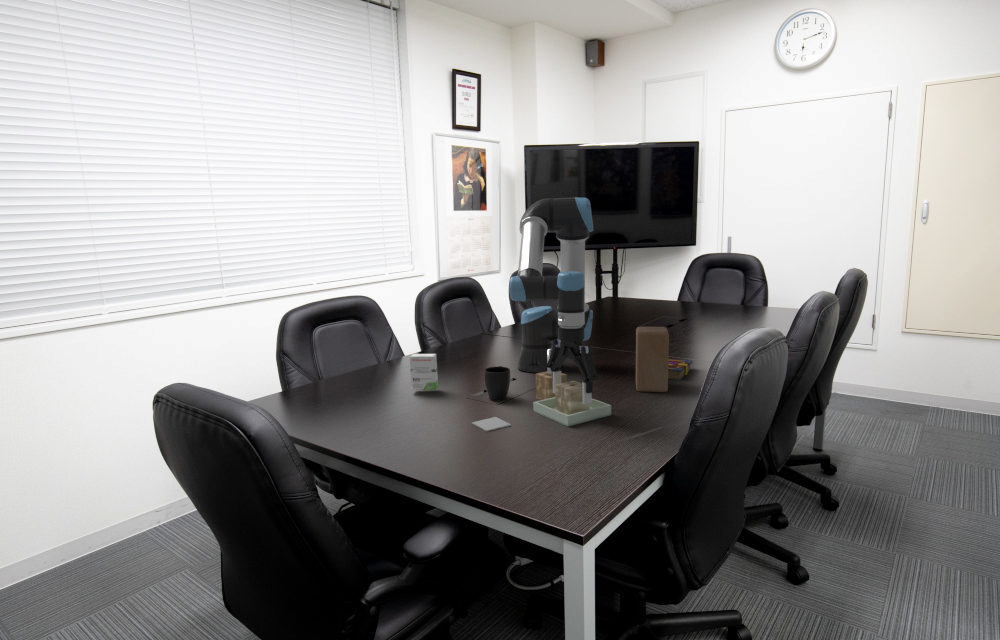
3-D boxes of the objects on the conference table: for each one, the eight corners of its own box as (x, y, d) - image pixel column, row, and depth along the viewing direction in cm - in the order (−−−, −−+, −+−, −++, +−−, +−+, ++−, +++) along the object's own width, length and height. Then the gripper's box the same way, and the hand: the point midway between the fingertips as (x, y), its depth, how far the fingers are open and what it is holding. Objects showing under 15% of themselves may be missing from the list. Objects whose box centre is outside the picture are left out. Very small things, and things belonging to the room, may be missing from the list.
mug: (514, 391, 198) (514, 363, 196) (508, 402, 186) (507, 373, 184) (490, 390, 199) (489, 363, 198) (482, 401, 188) (481, 372, 186)
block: (668, 393, 191) (669, 332, 188) (636, 392, 193) (636, 331, 190) (665, 384, 201) (667, 326, 197) (635, 383, 203) (636, 326, 199)
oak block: (536, 398, 190) (535, 373, 188) (553, 394, 193) (553, 370, 192) (549, 403, 184) (548, 378, 183) (567, 399, 188) (566, 374, 186)
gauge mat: (471, 423, 168) (471, 422, 168) (495, 418, 172) (495, 416, 172) (486, 431, 161) (486, 430, 161) (511, 425, 165) (510, 424, 165)
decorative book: (648, 378, 209) (648, 365, 208) (662, 368, 223) (662, 355, 222) (680, 382, 203) (681, 368, 203) (692, 371, 217) (693, 358, 216)
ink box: (438, 386, 207) (437, 353, 205) (435, 390, 202) (434, 356, 200) (414, 386, 207) (412, 353, 205) (411, 390, 202) (409, 356, 200)
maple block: (555, 410, 175) (555, 384, 174) (574, 406, 179) (573, 380, 178) (570, 417, 169) (570, 390, 168) (589, 412, 173) (589, 385, 172)
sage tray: (533, 411, 177) (533, 402, 176) (575, 401, 185) (575, 392, 184) (567, 426, 163) (567, 416, 163) (611, 415, 172) (611, 405, 171)
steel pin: (546, 398, 189) (545, 349, 186) (552, 397, 190) (551, 348, 188) (550, 400, 187) (550, 350, 185) (556, 398, 188) (555, 349, 186)
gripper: (534, 321, 178) (536, 390, 182) (590, 334, 157) (590, 411, 161) (554, 319, 182) (555, 386, 186) (611, 330, 161) (611, 406, 165)
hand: (571, 397), depth 173 cm, fingers open, 13 cm apart
